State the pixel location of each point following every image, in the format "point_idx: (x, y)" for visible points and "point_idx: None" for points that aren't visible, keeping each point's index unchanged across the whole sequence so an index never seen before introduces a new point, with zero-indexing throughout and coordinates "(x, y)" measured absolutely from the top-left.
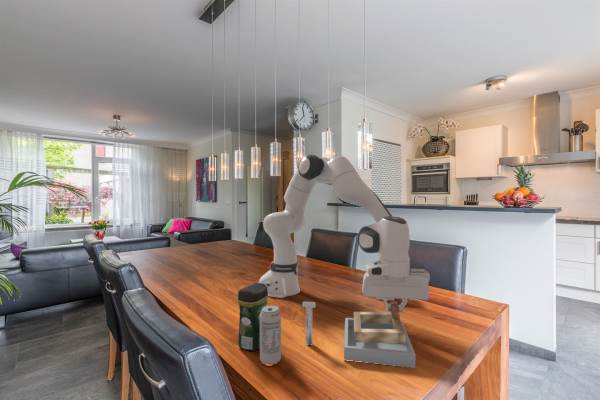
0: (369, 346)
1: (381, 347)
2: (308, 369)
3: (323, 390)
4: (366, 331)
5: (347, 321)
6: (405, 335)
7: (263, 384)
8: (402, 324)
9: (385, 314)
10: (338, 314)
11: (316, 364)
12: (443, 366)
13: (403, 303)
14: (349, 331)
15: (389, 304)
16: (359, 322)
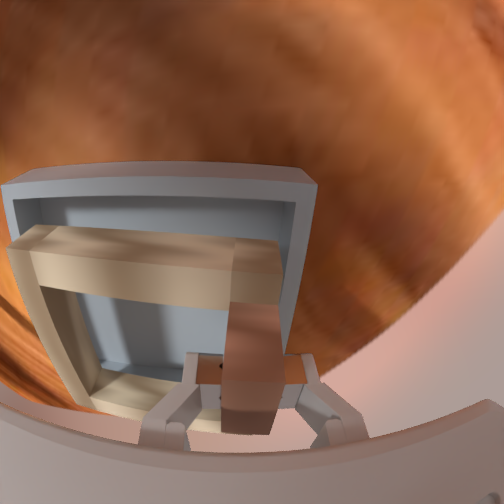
0: (133, 317)
1: (175, 319)
2: (37, 369)
3: (84, 407)
4: (112, 413)
5: (15, 225)
6: (280, 325)
7: (12, 386)
8: (307, 217)
9: (185, 306)
10: (13, 32)
11: (40, 359)
12: (348, 350)
13: (315, 429)
14: (46, 217)
15: (208, 387)
16: (66, 360)
